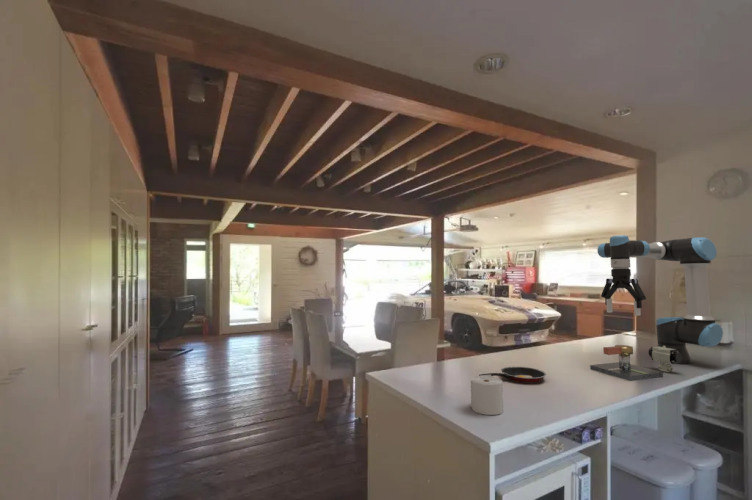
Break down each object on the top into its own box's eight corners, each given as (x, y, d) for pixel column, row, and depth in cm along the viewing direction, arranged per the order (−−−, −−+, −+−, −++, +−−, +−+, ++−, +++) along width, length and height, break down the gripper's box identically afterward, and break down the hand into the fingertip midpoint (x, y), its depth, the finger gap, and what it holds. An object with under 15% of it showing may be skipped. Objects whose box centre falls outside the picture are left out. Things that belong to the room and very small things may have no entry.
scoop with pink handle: (622, 350, 171) (622, 344, 171) (636, 353, 164) (636, 347, 164) (599, 352, 167) (599, 346, 167) (613, 356, 160) (612, 349, 160)
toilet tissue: (478, 416, 116) (477, 385, 117) (465, 403, 128) (464, 375, 129) (509, 414, 117) (508, 384, 118) (493, 402, 129) (492, 374, 130)
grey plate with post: (621, 365, 178) (620, 347, 179) (663, 376, 159) (661, 356, 160) (590, 369, 172) (589, 350, 173) (629, 380, 153) (628, 359, 154)
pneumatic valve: (655, 367, 174) (653, 343, 175) (683, 374, 163) (681, 347, 164) (648, 369, 172) (646, 344, 173) (675, 375, 161) (673, 348, 162)
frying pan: (556, 383, 152) (556, 374, 152) (492, 390, 143) (492, 381, 143) (526, 371, 170) (526, 363, 170) (468, 377, 161) (467, 369, 161)
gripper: (591, 268, 176) (593, 311, 175) (641, 267, 152) (644, 317, 151) (603, 268, 178) (605, 311, 177) (653, 267, 154) (657, 316, 153)
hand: (623, 314), depth 164 cm, fingers open, 13 cm apart
